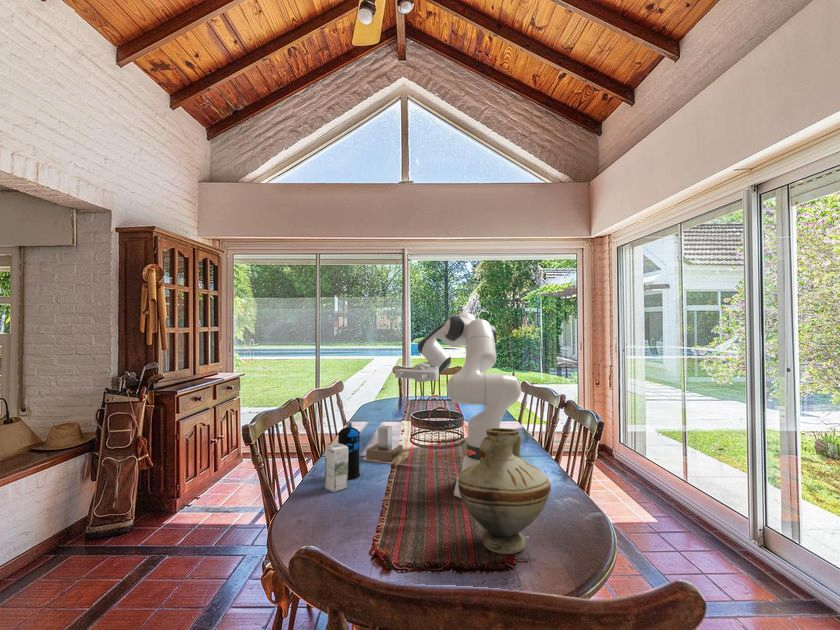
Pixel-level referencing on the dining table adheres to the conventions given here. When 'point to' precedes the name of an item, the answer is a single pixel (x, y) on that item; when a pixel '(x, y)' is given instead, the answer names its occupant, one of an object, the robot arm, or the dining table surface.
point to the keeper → (383, 454)
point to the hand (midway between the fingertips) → (410, 376)
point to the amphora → (503, 491)
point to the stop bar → (385, 438)
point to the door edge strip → (401, 458)
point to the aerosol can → (351, 448)
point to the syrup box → (336, 467)
